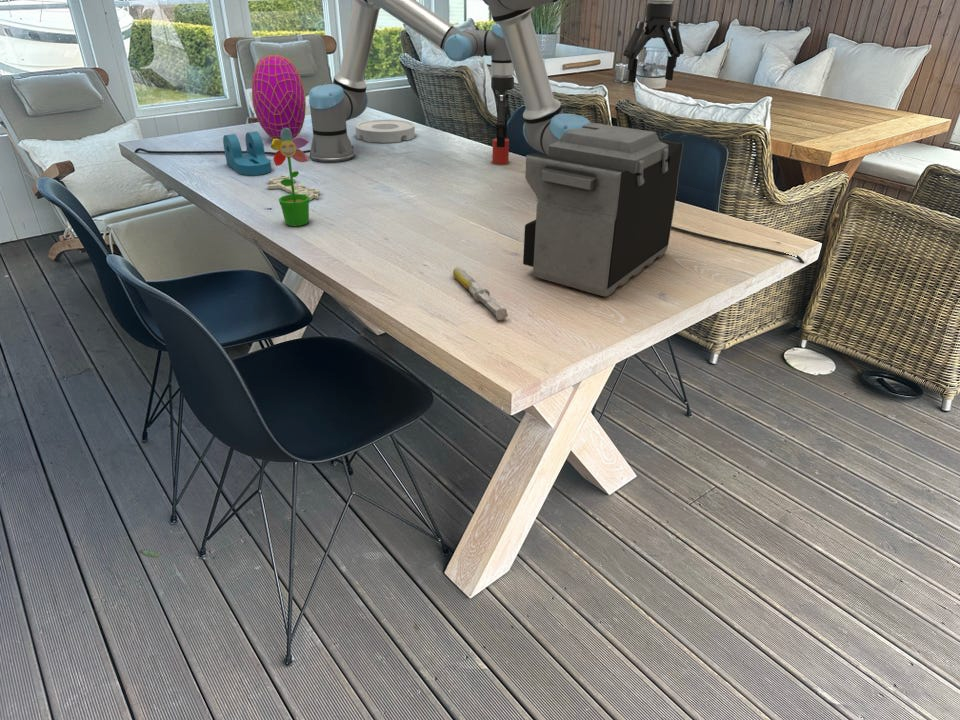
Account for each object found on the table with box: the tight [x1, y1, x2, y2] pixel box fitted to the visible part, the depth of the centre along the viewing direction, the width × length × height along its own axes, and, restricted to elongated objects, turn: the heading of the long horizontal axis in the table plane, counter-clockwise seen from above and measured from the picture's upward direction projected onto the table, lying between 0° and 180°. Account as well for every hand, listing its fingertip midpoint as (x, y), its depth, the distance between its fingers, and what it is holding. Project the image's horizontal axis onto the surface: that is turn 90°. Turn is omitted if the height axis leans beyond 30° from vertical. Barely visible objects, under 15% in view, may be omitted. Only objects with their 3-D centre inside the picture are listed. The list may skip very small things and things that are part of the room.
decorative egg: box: [251, 54, 307, 141], centre depth 257 cm, size 19×19×30 cm
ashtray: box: [355, 118, 416, 144], centre depth 271 cm, size 23×23×4 cm
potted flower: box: [270, 128, 310, 227], centre depth 177 cm, size 9×8×25 cm
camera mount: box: [222, 131, 272, 176], centre depth 226 cm, size 18×10×10 cm, turn 35°
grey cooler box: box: [522, 122, 685, 297], centre depth 153 cm, size 37×22×30 cm, turn 144°
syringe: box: [452, 266, 509, 321], centre depth 145 cm, size 25×4×3 cm, turn 21°
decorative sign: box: [267, 174, 321, 201], centre depth 209 cm, size 26×1×10 cm
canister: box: [491, 137, 510, 166], centre depth 238 cm, size 6×6×8 cm
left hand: (501, 142), depth 236 cm, fingers open, 13 cm apart
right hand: (650, 80), depth 210 cm, fingers open, 13 cm apart
